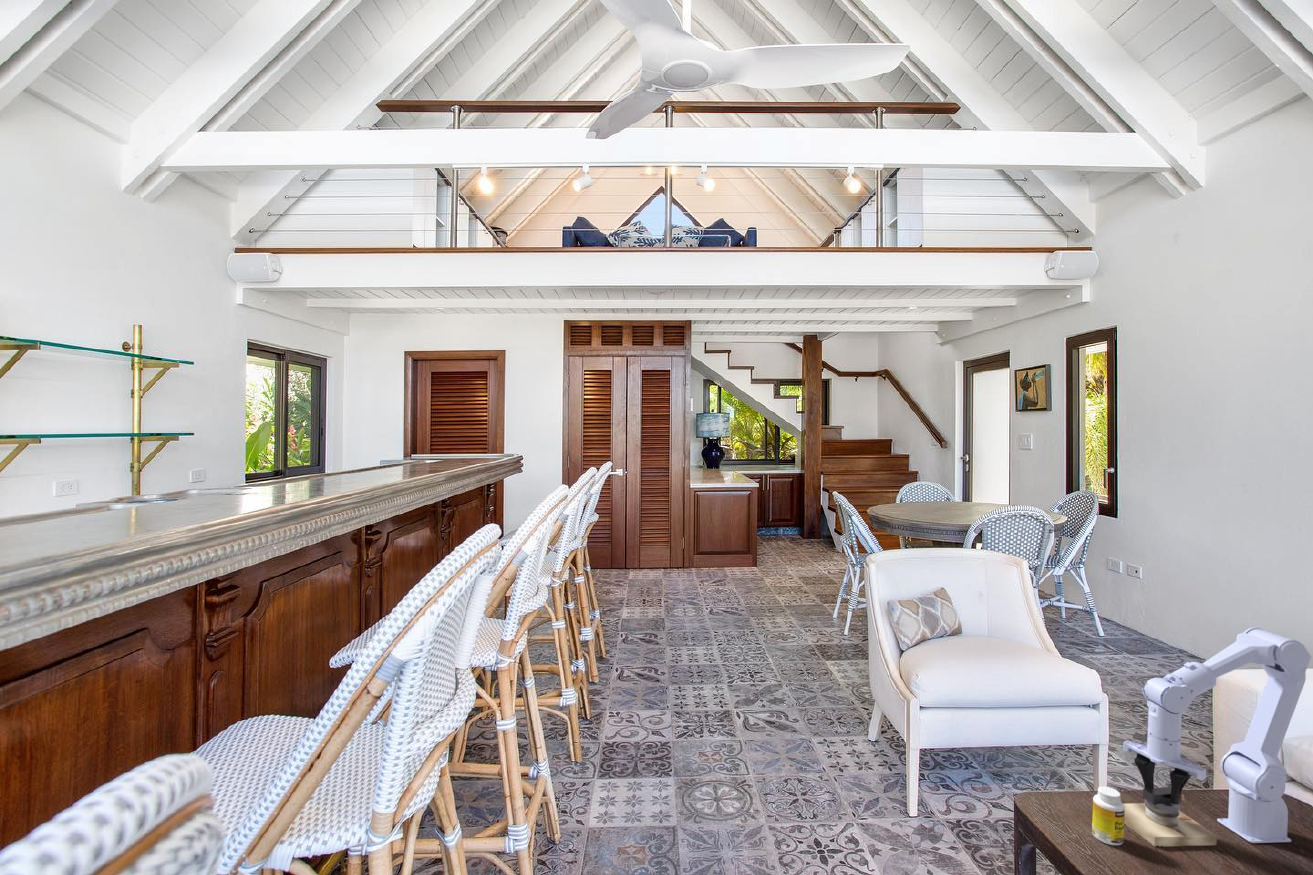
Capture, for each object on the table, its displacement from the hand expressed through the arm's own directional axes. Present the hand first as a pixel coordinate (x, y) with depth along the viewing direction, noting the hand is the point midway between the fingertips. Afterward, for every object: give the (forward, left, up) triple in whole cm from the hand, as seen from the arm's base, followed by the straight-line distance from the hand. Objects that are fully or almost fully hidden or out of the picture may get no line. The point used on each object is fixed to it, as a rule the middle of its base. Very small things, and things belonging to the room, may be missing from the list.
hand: (1161, 796), depth 141 cm
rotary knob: (-1, 0, -3) cm, 3 cm away
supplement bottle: (+15, +3, -7) cm, 17 cm away
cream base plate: (0, 0, -7) cm, 7 cm away
